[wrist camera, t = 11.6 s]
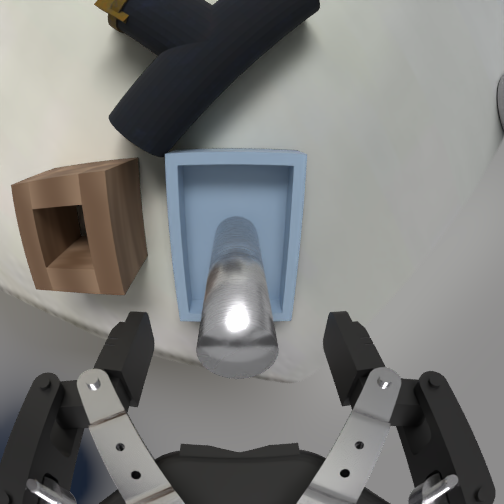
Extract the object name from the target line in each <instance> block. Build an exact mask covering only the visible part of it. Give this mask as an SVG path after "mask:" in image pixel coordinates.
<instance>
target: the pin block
mask: <svg viewBox="0 0 504 504" xmlns="http://www.w3.org/2000/svg"><path fill="white" fill-rule="evenodd" d="M11 188H12V195H13V201H14V207H15V212H16V217H17V222H18V227H19V231H20V235H21V239H22V243H23V247H24V251H25V255H26V258H27V262H28V265H29V268H30V272H31V275H32V278H33V281H34V284H35V287H36V289H39V290H51V291H63V292H77V293H92V294H110V295H125V294H126V292H127V290H128V288H129V287H130V285H131V283H132V281H133V280H134V278H135V276H136V275H137V273H138V271H139V270H140V268H141V266H142V264H143V263H144V261H145V259H146V258H147V256H148V254H147V247H146V239H145V231H144V223H143V213H142V203H141V192H140V178H139V162H138V158H128V159H118V160H109V161H100V162H93V163H85V164H78V165H72V166H65V167H59V168H54V169H51V170H48V171H46V172H43V173H40V174H38V175H35V176H32V177H30V178H27V179H25V180H22V181H20V182H17V183H15V184H13V185H11ZM76 205H82V209H83V215H84V221H85V227H86V233H87V236H81V232H80V226H79V221H78V215H77V208H76Z"/></svg>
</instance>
